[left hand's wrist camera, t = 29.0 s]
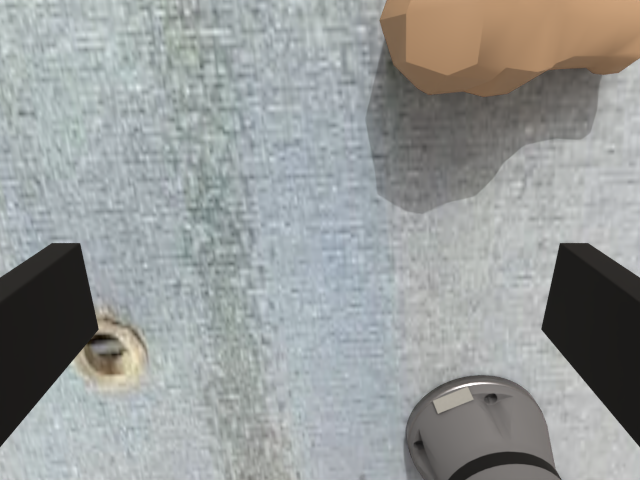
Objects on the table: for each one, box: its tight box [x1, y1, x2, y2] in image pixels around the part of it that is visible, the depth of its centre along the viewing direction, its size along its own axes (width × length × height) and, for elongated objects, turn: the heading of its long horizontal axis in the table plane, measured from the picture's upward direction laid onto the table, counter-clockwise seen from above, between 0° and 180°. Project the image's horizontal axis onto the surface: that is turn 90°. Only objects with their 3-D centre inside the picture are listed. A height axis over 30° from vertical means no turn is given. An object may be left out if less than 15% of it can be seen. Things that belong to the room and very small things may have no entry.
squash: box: [380, 0, 640, 97], centre depth 32 cm, size 11×20×9 cm, turn 89°
